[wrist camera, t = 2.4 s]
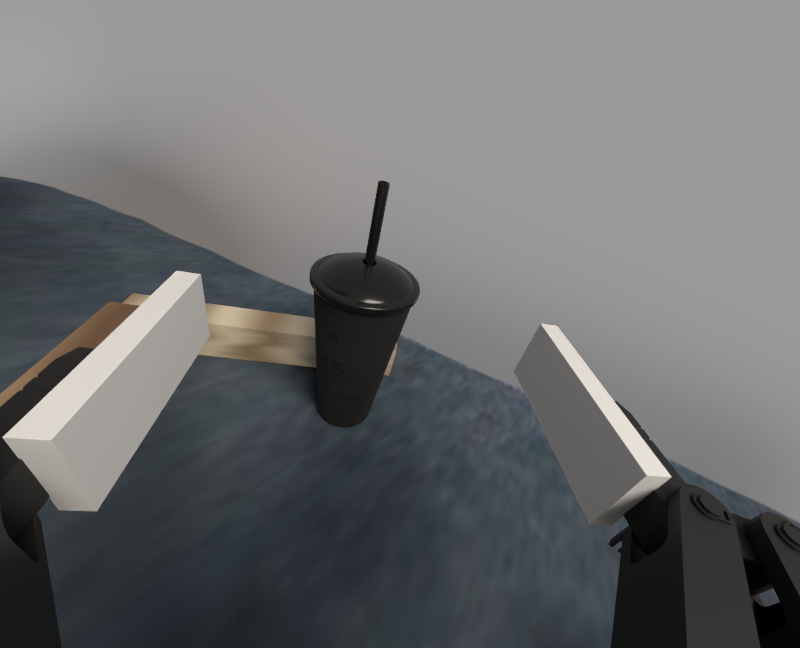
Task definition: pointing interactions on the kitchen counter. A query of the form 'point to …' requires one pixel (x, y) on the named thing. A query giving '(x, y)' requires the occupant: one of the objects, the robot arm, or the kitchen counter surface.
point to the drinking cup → (357, 323)
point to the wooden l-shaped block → (229, 338)
